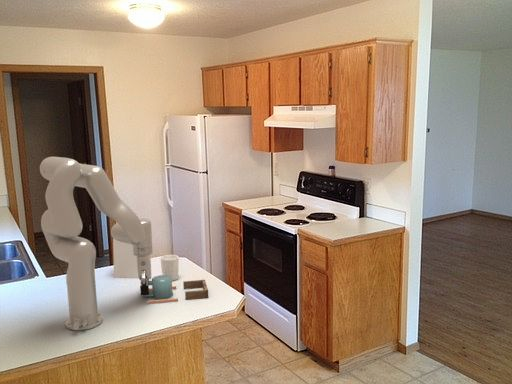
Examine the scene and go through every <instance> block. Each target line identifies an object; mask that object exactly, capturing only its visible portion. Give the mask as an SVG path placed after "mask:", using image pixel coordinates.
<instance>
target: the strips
mask: <svg viewBox="0 0 512 384" xmlns="http://www.w3.org/2000/svg"><path fill="white" fill-rule="evenodd" d="M172 290H177V285H172ZM149 291H152V287H149ZM175 302H176V303H177V302H179V298H178V297H175V298H173V297H171V298H169V299H162V300H157V299H152V300H146V304H147V305H153V304H164V303H175Z"/></svg>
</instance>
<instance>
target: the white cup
mask: <svg viewBox="0 0 512 384" xmlns="http://www.w3.org/2000/svg"><path fill="white" fill-rule="evenodd" d="M179 257H180V256H178V255H177V254H166V255H162V256H161V257H160V264H161V265H160V266H161V275H168V276H171V277H172V282H173V281H177V280H178V279H179Z"/></svg>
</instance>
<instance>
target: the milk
mask: <svg viewBox="0 0 512 384" xmlns="http://www.w3.org/2000/svg"><path fill="white" fill-rule="evenodd" d="M112 242H113V243H112V248H113V251H112V252H113V279H139V276H138V268H137V256H135V255H134V254H133V245H132V244H128V243H124V242H120V241H117V240H115V239H114V238H113V239H112Z"/></svg>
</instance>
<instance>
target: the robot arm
mask: <svg viewBox="0 0 512 384" xmlns="http://www.w3.org/2000/svg"><path fill="white" fill-rule="evenodd" d="M39 171H40V173H39V174H41V176H42V178H44V179H45V180H47V181H48V184H47V188H46V190H45V196H44V197H45V203H46V206H47V209H46V210H45V211H44V212H43V214H42V215H41V220H40V226H41V230H42V233H43V235H44V237H45V240H46V242H47V245H48V248H49V249H50V251H51V253H52V255H53V256H54V257H55V258H56V259H58V260H60V261H63V262H65V263H68V266H67V269H66V275H65V276H66V278H65V279H66V288H67V289H66V290H67V302H68V303H67V304H68V313H69V317H68V319H66V321H65V327H66V328H67V329H68V330H71V331H85V330H90V329H93V328H96V327H98V326H99V325H100V324H101V323H102V322H103V321H104V319H103V315H102V314H101V313H99V310H98V301H97V299H98V298H97V296H98V295H97V288H96V286H97V285H96V273H95V268H96V267H95V266H96V265H95V264H96V259H97V258H96V257H97V250H96V246H95V245H94V243H93V242H91V240H89V239H87V238H85V237H82V236H80V235H81V233H82V231H83V221H82V219H81V216H80V212H79V210H78V207H77V205H76V202H75V199H74V189H75V187H78V188H84V189H86V191H87V192H88V194H89V196H90V197H91V199H92V201H93V203H94V204H95V206H96V208H97V209H98V210H99V211H100V212H101V213H102V214H104V215H105V216H106V217H109V218H110V219H111V220H113V221H115V224H114V225H113V226H112V227H111V229H110V235H111V237H112V238H113V239H115V240H117V241H120V242H124V243H128V244H132V245H133V254H134V255H135V256H137V268H138V276H139V278H138V280H140V286H139V290H140V296H143V295H149V288H150V286H149V285H148V281H150V280H152V258H151V255H152V254H153V235H152V234H153V233H152V222H151V220H150V219H148V218H139V216H138V215H137V213H135V212H134V211H133V209H132V208H130V206H128V204H127V203H125V202H124V200H123V199H121V197H120V195H119V194H118V193H117V191H116V189H115V188H114V187H115V186H114V185H113V183H112V182H111V179H110V178H109V177H108V174H107V172H106V171H105V170H104V168H103V167H101V166H98V165H93V164H84V163H79V162H78V161H77V160H75V159H73V158H69V157H62V156H61V157H59V156H49V157H46V158H44V159H43V160H42V161H41V163H40V164H39Z"/></svg>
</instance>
